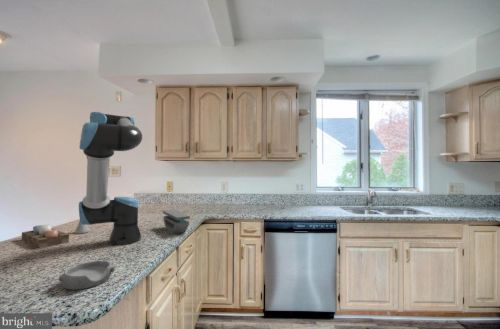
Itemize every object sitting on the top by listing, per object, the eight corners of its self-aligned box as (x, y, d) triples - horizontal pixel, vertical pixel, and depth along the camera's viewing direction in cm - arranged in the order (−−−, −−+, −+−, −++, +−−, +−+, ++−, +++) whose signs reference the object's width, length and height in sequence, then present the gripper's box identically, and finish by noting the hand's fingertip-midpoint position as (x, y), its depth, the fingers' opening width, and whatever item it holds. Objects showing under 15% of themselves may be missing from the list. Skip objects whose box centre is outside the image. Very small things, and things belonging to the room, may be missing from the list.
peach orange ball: (59, 240, 124) (59, 230, 124) (47, 242, 120) (47, 232, 120) (55, 238, 127) (55, 229, 127) (43, 241, 122) (43, 231, 123)
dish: (119, 275, 90) (119, 261, 90) (88, 293, 76) (88, 277, 76) (85, 271, 92) (86, 258, 93) (49, 288, 79) (50, 273, 79)
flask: (82, 234, 141) (82, 217, 141) (71, 233, 142) (72, 216, 142) (92, 231, 148) (93, 214, 148) (82, 230, 149) (83, 214, 150)
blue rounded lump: (46, 235, 132) (46, 226, 133) (34, 237, 128) (35, 227, 128) (42, 233, 135) (43, 224, 135) (31, 235, 131) (31, 226, 131)
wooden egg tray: (68, 242, 126) (68, 234, 126) (39, 248, 116) (39, 240, 116) (49, 234, 139) (49, 227, 139) (21, 239, 129) (21, 232, 129)
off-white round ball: (52, 234, 128) (53, 225, 128) (41, 237, 124) (41, 227, 124) (49, 233, 131) (49, 224, 131) (37, 235, 127) (37, 225, 127)
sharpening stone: (189, 234, 145) (189, 216, 145) (176, 236, 140) (176, 217, 140) (174, 225, 164) (174, 209, 165) (162, 227, 160) (163, 210, 160)
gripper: (104, 140, 152) (104, 177, 151) (81, 137, 141) (80, 178, 140) (111, 139, 148) (110, 178, 148) (88, 137, 137) (87, 179, 136)
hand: (96, 178), depth 144 cm, fingers closed
